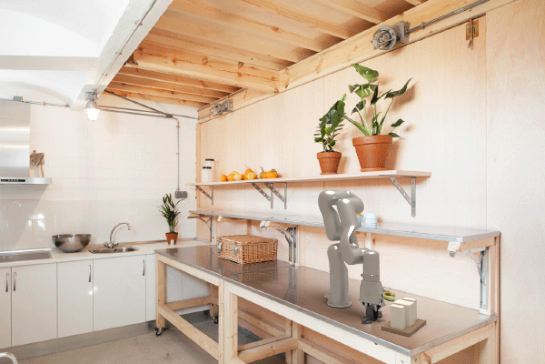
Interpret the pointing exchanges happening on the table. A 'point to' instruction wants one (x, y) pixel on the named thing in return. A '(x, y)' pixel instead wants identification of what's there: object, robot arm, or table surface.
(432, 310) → the table surface
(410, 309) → the boxes on tan tray
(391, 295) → the curved yellow hook
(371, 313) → the grey bar with discs
